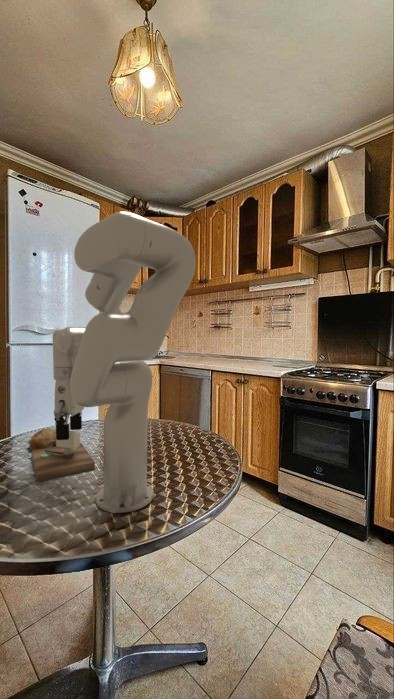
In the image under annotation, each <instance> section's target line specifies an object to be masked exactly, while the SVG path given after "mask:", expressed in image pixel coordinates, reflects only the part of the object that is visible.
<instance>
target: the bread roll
mask: <svg viewBox="0 0 394 699" xmlns="http://www.w3.org/2000/svg"><path fill="white" fill-rule="evenodd" d="M27 444H28V446H29V450H30V451H31V450H32V451H33V450H39V449H45V448H51V447H56V428H44V429H43V428H42V429H41V430H39V431H36V432H35V433H34V434H33V435H31V436H30V439H29V440H28V441H27ZM32 451H31V452H32Z"/></svg>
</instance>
